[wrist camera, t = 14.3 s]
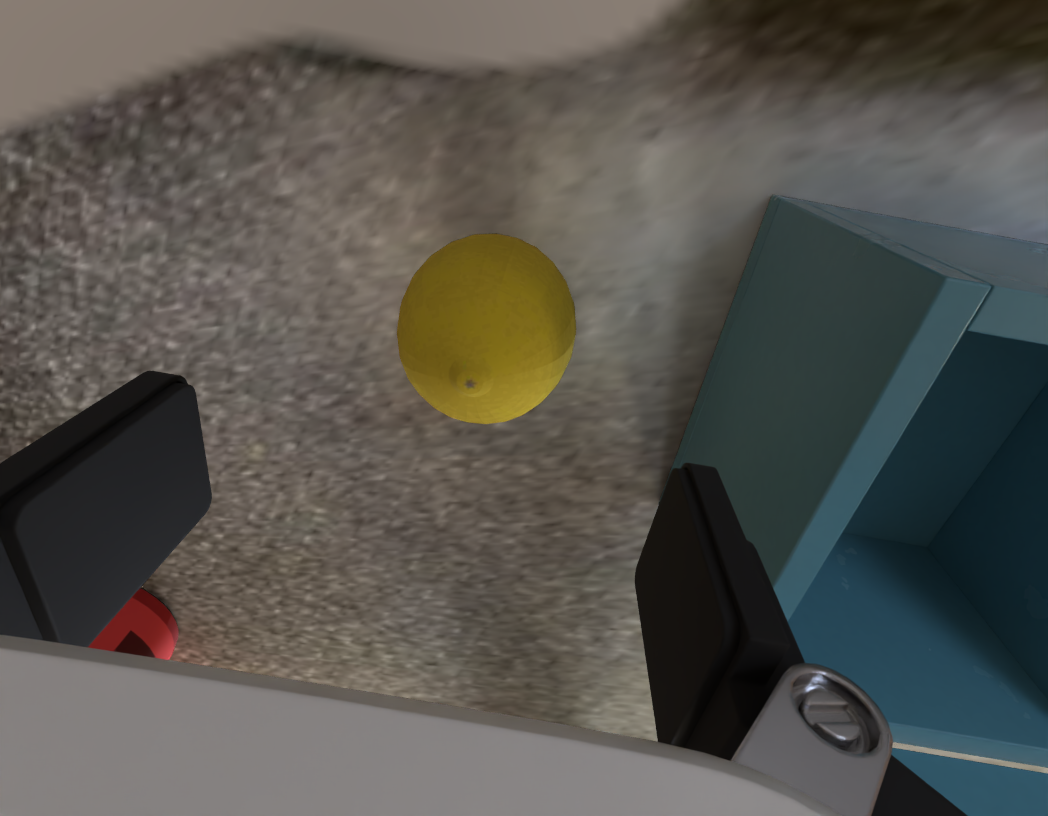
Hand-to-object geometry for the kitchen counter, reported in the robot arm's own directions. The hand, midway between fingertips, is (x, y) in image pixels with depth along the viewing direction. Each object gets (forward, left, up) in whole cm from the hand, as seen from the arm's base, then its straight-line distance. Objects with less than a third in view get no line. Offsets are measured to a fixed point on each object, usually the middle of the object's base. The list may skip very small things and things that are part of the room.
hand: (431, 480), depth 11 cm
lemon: (0, 0, -12) cm, 12 cm away
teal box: (+2, +15, -12) cm, 19 cm away
